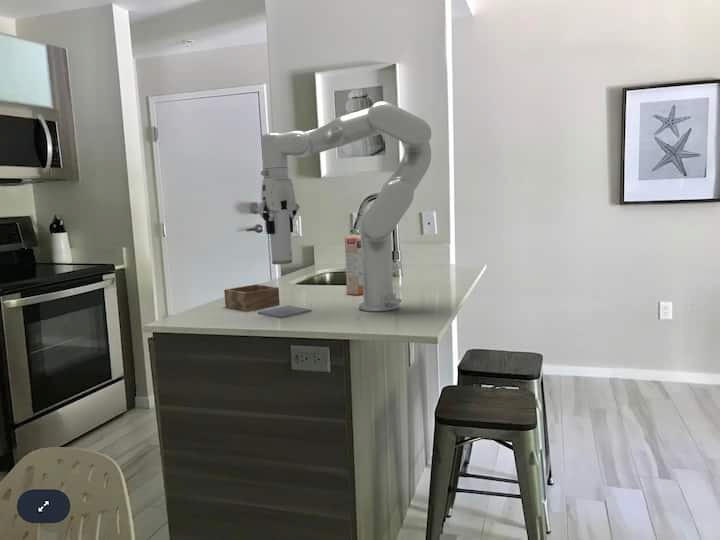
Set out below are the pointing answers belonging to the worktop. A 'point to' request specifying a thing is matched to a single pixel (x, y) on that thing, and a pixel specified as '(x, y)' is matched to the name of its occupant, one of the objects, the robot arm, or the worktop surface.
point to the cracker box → (353, 265)
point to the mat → (284, 311)
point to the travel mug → (281, 236)
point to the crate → (252, 297)
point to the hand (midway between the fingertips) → (280, 232)
